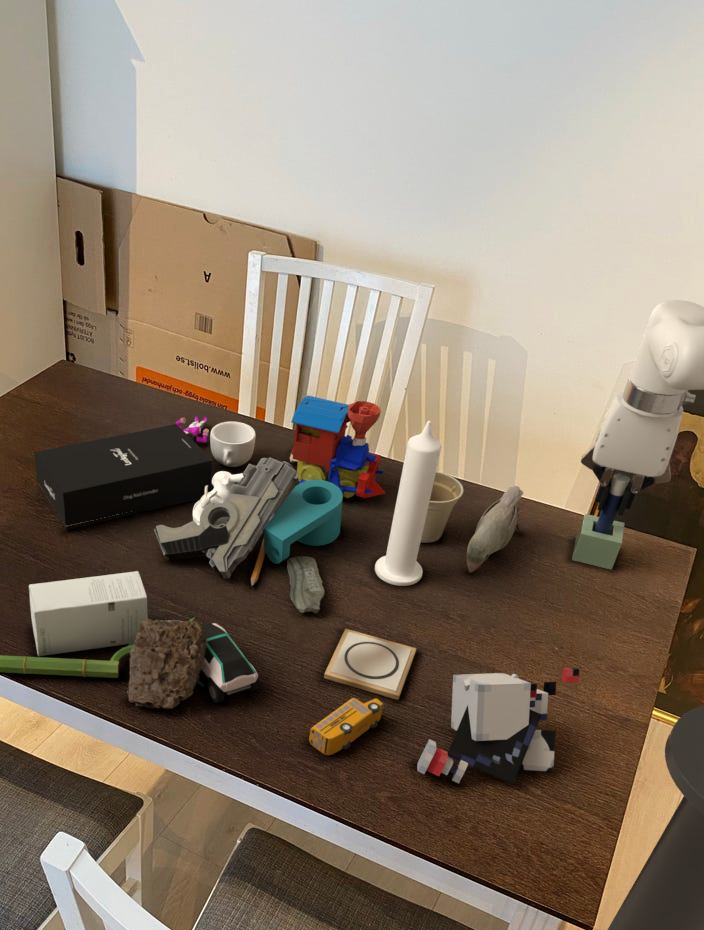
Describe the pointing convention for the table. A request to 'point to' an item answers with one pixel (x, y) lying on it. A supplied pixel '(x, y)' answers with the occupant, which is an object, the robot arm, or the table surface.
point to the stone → (305, 584)
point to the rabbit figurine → (216, 494)
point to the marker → (612, 504)
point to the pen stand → (597, 543)
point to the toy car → (226, 665)
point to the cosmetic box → (87, 612)
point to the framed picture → (370, 664)
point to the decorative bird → (494, 528)
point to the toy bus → (345, 725)
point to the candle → (410, 511)
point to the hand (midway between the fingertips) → (610, 507)
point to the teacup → (232, 443)
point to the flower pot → (440, 505)
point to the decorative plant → (67, 665)
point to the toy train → (336, 445)
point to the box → (123, 475)
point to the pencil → (258, 563)
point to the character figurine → (195, 429)
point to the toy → (496, 727)
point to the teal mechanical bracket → (304, 519)
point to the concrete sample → (165, 662)
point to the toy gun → (232, 519)
